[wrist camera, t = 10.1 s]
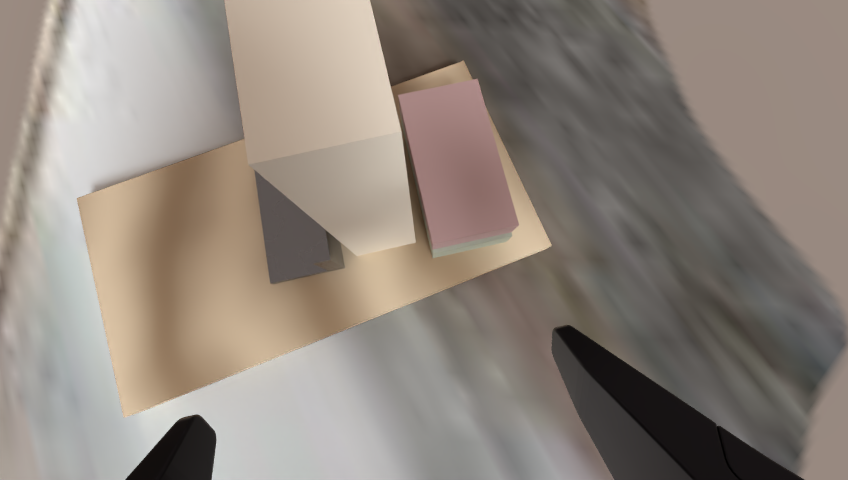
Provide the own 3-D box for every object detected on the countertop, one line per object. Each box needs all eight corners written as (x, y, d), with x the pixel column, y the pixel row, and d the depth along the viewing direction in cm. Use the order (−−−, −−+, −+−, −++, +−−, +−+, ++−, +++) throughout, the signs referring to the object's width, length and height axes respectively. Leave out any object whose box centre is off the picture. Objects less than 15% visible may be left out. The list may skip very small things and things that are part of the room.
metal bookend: (345, 268, 19) (330, 260, 16) (273, 284, 19) (245, 278, 16) (323, 147, 20) (305, 119, 17) (256, 161, 20) (227, 135, 17)
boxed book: (415, 242, 19) (401, 131, 8) (356, 256, 19) (248, 164, 7) (391, 136, 20) (345, -101, 9) (335, 149, 20) (213, -76, 9)
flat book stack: (505, 241, 19) (520, 229, 16) (432, 258, 19) (434, 248, 16) (469, 108, 21) (476, 75, 18) (401, 122, 21) (397, 91, 18)
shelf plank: (461, 73, 23) (463, 60, 21) (544, 249, 20) (551, 245, 19) (96, 204, 21) (76, 198, 20) (142, 411, 19) (123, 417, 18)
